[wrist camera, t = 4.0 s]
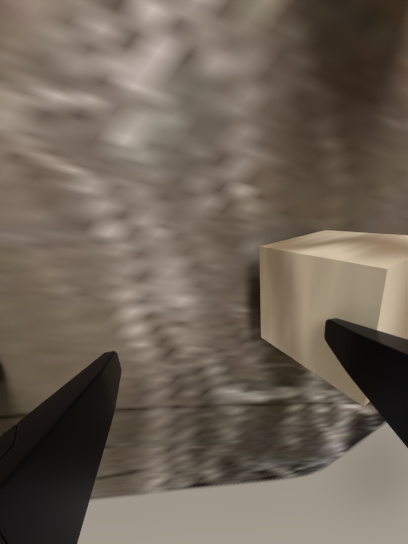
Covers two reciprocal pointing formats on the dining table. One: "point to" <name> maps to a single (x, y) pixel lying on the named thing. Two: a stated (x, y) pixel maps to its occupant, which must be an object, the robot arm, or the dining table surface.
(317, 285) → the maple block
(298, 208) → the dining table surface
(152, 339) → the dining table surface
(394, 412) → the robot arm
